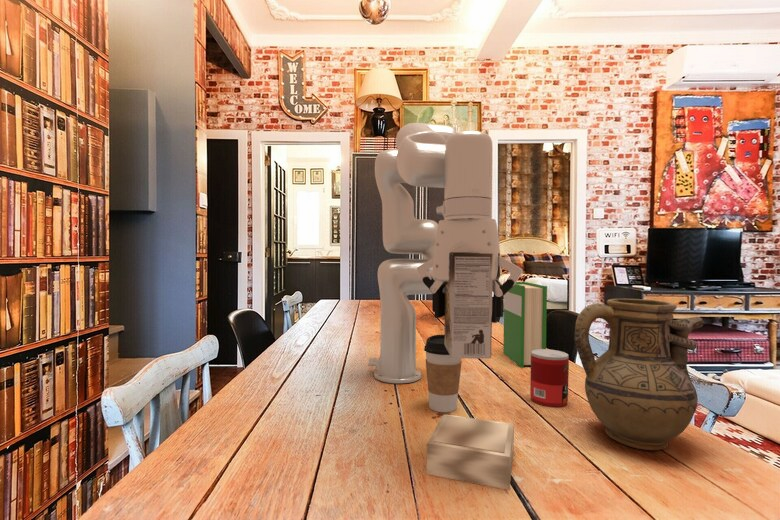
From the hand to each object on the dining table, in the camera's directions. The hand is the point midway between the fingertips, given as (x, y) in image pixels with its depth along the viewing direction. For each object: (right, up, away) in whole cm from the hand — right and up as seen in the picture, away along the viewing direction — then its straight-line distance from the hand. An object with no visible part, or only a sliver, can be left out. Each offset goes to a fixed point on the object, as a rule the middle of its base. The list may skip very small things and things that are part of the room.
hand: (466, 319), depth 66 cm
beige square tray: (+1, -23, -1) cm, 23 cm away
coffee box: (0, -5, 0) cm, 6 cm away
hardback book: (+30, -22, +63) cm, 73 cm away
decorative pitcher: (+32, -23, +8) cm, 40 cm away
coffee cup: (-1, -23, +23) cm, 32 cm away
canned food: (+24, -23, +27) cm, 43 cm away
